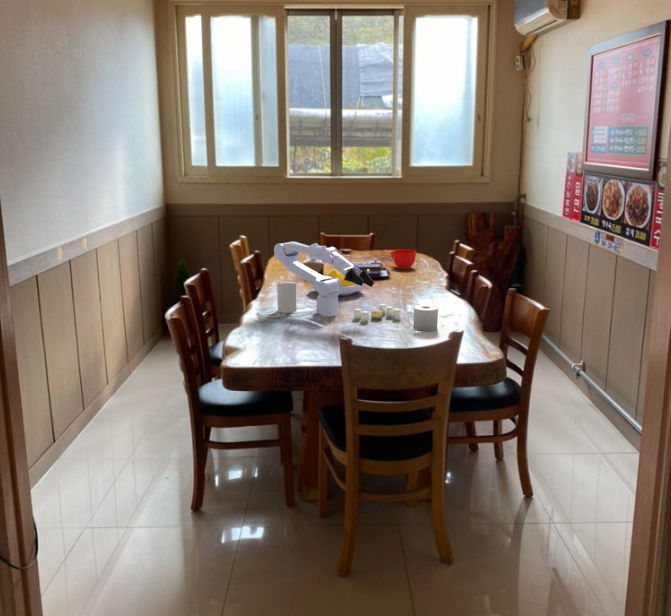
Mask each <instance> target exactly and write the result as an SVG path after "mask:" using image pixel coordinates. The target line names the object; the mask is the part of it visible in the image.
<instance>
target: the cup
mask: <svg viewBox="0 0 671 616" xmlns="http://www.w3.org/2000/svg"><path fill="white" fill-rule="evenodd" d="M276 285H277V289H276V290H277V295H276V296H277V312H278V313H282V314H289V313H290V314H291V313H292V312H293V313H296V312H297V311H296V310H297V309H298V308H297V283H296V282H294V281H280V282H277V284H276ZM295 311H296V312H295Z"/></svg>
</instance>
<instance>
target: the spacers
mask: <svg viewBox="0 0 671 616" xmlns="http://www.w3.org/2000/svg"><path fill="white" fill-rule="evenodd" d="M378 310H379V311H382V315H385V314H386V317H388V318H392V317H393V319H394V320H397V321H401V320H400V318H401V309H400V308H394V306H387V305H386V304H385V303H379V304H378ZM369 312H370V311H367V310H362V309H361V308H354V309H353V318H354V319H355V320H354V321H356V320H360V319H361V322H363V323H362V324H364V323H367V322H369V315H370V313H369ZM361 322H360V323H361Z"/></svg>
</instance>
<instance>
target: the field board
mask: <svg viewBox="0 0 671 616" xmlns="http://www.w3.org/2000/svg"><path fill="white" fill-rule="evenodd" d="M350 320H352V321H353V320H354V321H356V322H359V323H361V324H364V325H366V326H369V327H371V326H376V325H381V324H386V323H392V322H397V321H398V320H394V319H393V317H392V318H388V317H386V314H385V315H382V320H372V319H371V314H369V322H367V323H363V322H361V319H360V320H355V319H354V317H352V318H350ZM401 320H402V318H401V317H400V320H399V321H401Z"/></svg>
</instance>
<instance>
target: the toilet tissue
mask: <svg viewBox="0 0 671 616" xmlns="http://www.w3.org/2000/svg"><path fill="white" fill-rule="evenodd" d="M438 314H439V307H438V306H437V305H433V304H425V303H424V304H417V305H414V306H413V323H412V324H413V327H414V328H415V329H416V331H417V332H422V333H423V332H425V333H431V332H435V331H437V330H438V322H439V321H438V317H439V315H438Z"/></svg>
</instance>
